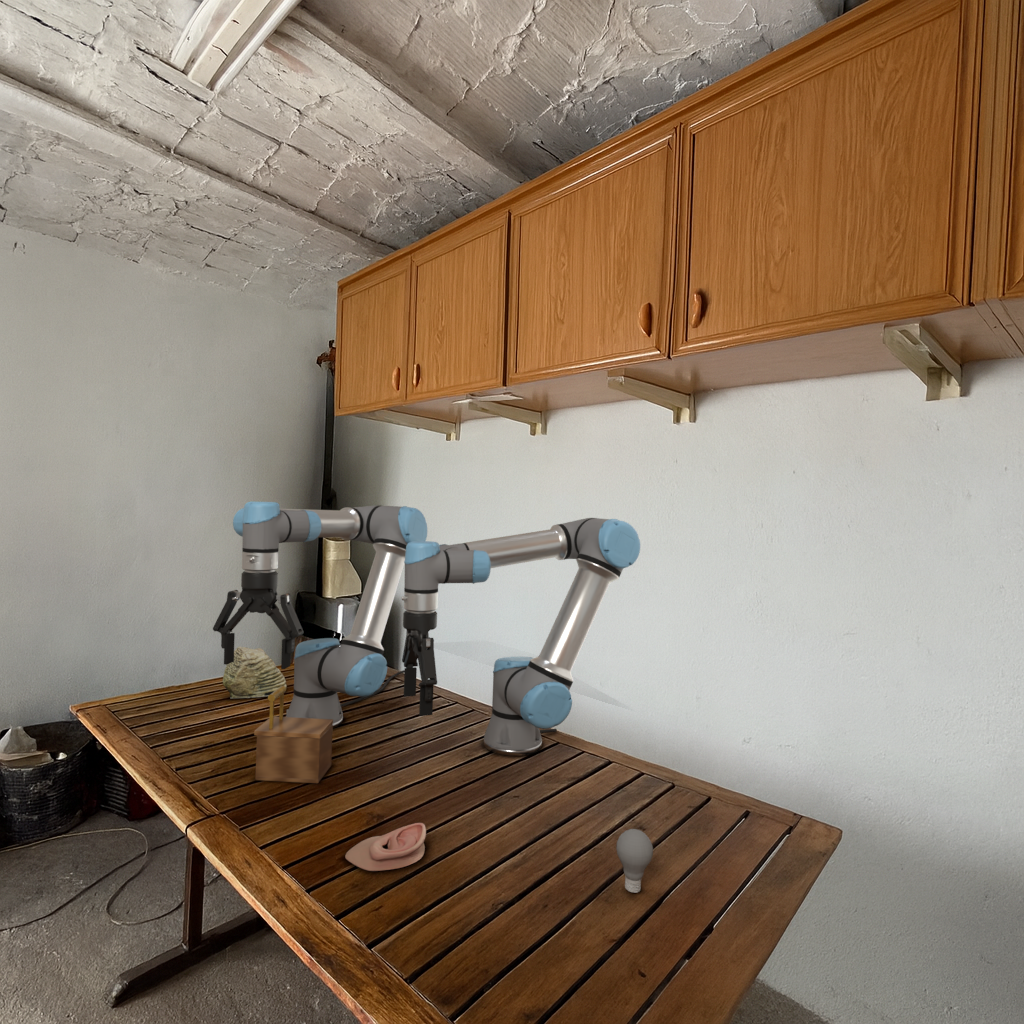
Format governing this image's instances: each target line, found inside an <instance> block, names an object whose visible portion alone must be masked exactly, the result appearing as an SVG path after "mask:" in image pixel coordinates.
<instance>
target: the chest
mask: <svg viewBox="0 0 1024 1024" xmlns="http://www.w3.org/2000/svg"><path fill="white" fill-rule="evenodd" d="M333 730H334V728H333V724H332V725H331V726H330V727H329V729H328V730H327V731H326V732H325V733H324V734H323V735H322V737H321V738H320V739H317V738H298V737H278V736H259V735H256V747H255V748H256V749H255V750H256V751H255V781H266V782H282V783H283V782H284V783H285V782H287V783H302V784H303V783H305V784H319V783H320V782H321V780H322V779H323V778H324V776H325V775H326V773H327V772H328V771H329V769H330V768H331V767H332V759H333V757H332V755H333V754H332V753H333Z"/></svg>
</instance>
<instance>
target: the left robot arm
mask: <svg viewBox="0 0 1024 1024" xmlns="http://www.w3.org/2000/svg"><path fill="white" fill-rule="evenodd" d="M280 506H281V505H280V504H279V502H276V501H254V500H253V501H247V502H246V503H244V506H243V507H242V508H240V509H239V510H237V511H236V513H235V514H234V516H233V519H232V527H233V530H234V531H235V533H236V534H237V535H238V536H240V537H242V545H241V546H242V547H241V549H242V553H241V569H242V570H243V571H242V572H241V579H240V580H241V582H240V585H241V586H240V587H241V591H239V590H238V589H234V590H230V591H228V592H227V595H226V596H227V597H226V601H225V603H224V605H223V607H222V609H221V611H220V613H219V615H218V617H217V619H216V621H215V623H214V624H213V627H212V631H213V632H218V633H219V634H220V635H221V636H220V637H221V638H220V647H221V649H223V665H224V666H225V665H227V664H229V663H232V662H234V651H235V638H236V637H235V635H236V633H235V632H233V630H234V629H235V628H236V626H237V625H238V624H239V623H240V622H241V621H242V620H243V619H244V617H245V616H246V615H248V613H250V614H251V613H258V614H266V615H267V616H268V617H270V618H271V620H272V621H273V623H274V624H275V626H276V627H277V628H278V630H279V631H280V633H282V635H283V636H284V638H282V639H281V659H280V660H281V661H280V662H281V663H280V665H281V667H280V670H286V669H288V668H289V667H291V660H292V659H291V658H292V656H291V655H292V654H293V653H295V654H294V657H293V658H294V660H293V662H294V663H293V665H294V666H293V695H292V696H293V697H292V699H291V702H290V704H289V708H288V709H286V712H285V713H286V714H285V717H293V718H313V719H333V729H335V728H337V727H339V726H340V725H342V723H343V722H344V714H343V709H342V707H346V706H350V705H352V704H355V703H358V702H361V701H363V700H366V699H368V698H370V697H373V696H375V695H377V694H379V693H381V692H382V691H384V689H385V688H386V686H387V685H388V684H389V682H390V681H391V680H392V679H393V678H395V677H398V676H399V675H401V674H404V669H403V670H400V671H398V672H396V673H394V674H392V675H390V676H389V677H388V678H387V679H386V677H387V674H388V673H387V672H388V662H387V659H386V657H384V651H385V648H384V647H383V645H382V640H383V636H384V632H385V629H386V625H387V622H388V619H389V616H390V613H391V610H392V606H393V602H394V599H395V596H396V593H397V590H398V586H399V582H400V580H401V576H402V573H403V569H404V568H405V563H404V561H405V553H406V546H407V544H408V543H409V542H412V541H427V538H428V523H427V520H426V517H425V516H424V513H423V512H422V511H421V510H420V509H418V508H416V507H410V506H406V505H403V506H400V505H399V506H397V505H396V506H395V505H381V504H380V505H379V504H377V505H376V504H375V505H364V506H351V507H350V506H349V507H348V506H347V507H346V506H345V507H343V508H341V509H340V510H338V509H307V508H306V509H304V508H303V509H302V508H300V509H299V508H281V507H280ZM317 538H340V539H341V540H343V541H354V542H355V541H356V542H360V543H361V542H362V543H367V544H370V545H371V544H372V548H373V550H374V551H375V555H374V558H373V561H372V564H371V567H370V570H369V574H368V576H367V580H366V583H365V586H364V589H363V592H362V595H361V598H360V602H359V604H358V607H357V611H356V614H355V617H354V621H353V623H352V627H351V630H350V633H349V634H348V635H346V636H344V637H343V638H342V639H341V642H340V640H339V639H338V638H335V637H324V638H323V637H322V638H313V639H308V640H304V641H302V642H299V643H298V644H297V645H296V647H295V644H296V643H295V641H296V638H298V637H300V636H302V635H304V630H303V627H302V625H301V623H300V620H299V617H298V614H297V613H296V610H295V608H294V606H293V603H292V595H291V593H289V592H287V593H283V594H278V581H279V577H278V576H279V572H278V571H276V570H277V569H278V568H279V547H280V544H283V543H306V542H311V541H312V542H313V541H314V540H316V539H317ZM239 600H240V601H241V602H242V604H241V606H240V607H239V608H238V609H237V611H236V612H235V613H234V614H233V615H232V613H233V611H234V609H235V607H236V605H237V603H238V601H239ZM277 601H278V604H279V605H280V607H281V609H282V612H283V614H284V616H285V617H284V616H283V614H282V613H281V612H280V608H279V607H278V605H277V604H276V603H277ZM231 615H232V617H231ZM230 617H231V618H230ZM229 618H230V619H229ZM385 679H386V681H385ZM338 693H340V694H344V695H348V696H350V697H358V698H356V699H353V700H350V701H347V702H343V703H341V702H340V699H339V695H338Z"/></svg>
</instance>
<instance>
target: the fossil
mask: <svg viewBox="0 0 1024 1024" xmlns="http://www.w3.org/2000/svg"><path fill="white" fill-rule="evenodd" d="M222 676H223V677H222V685H223V687H224V688H225V690H226V691H228V693H229V698H230V699H250V698H264V697H268V696H269V695H270V694H272V693H273V692H274V691H276V690H277V689H278V688H279V687H281V686H285V687H286V688H287V687H288V686H287V680H286V678H285V676H284V674H283V673H282V672H281V669H279V668H278V667H277V665H276V663H275V662H274V660H273V659H272V658H271V657H270V656H269V655H268V654H267V653H266V652H265V650H264V649H263V648H260V647H258V648H251V647H247V646H246V647H245V646H238V647H237V648H236V649H234V662H232V663H229V664H227V665H226V666H225V668H224V671H223V675H222Z"/></svg>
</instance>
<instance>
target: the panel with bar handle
mask: <svg viewBox="0 0 1024 1024" xmlns="http://www.w3.org/2000/svg"><path fill="white" fill-rule="evenodd" d="M286 691H287V687H285V686H281V687H279V688H278V689H277V690H276V691H274V692H273V693H272V694H270V695H269V696H267V700H268V702H269V718H268V719H266V720H265V721H264V722H263V723H262V724H260V725H259V726H258V727H257V728H256V729H255V730H253V735H254V736H257V735H259V736H278V737H298V738H317V739H320V738H321V737H322V735H323V734H324V733H325V732H326V731H327V730H328V729H329V727H330V726H331V725H332V724H333V719H313V718H293V717H286V716H284V703H285V702H284V701H285V700H284V699H285V693H286ZM277 699H279V712H278V713H279V714H278V715H279V716H275V715H274V714H275V701H276V700H277Z"/></svg>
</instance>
